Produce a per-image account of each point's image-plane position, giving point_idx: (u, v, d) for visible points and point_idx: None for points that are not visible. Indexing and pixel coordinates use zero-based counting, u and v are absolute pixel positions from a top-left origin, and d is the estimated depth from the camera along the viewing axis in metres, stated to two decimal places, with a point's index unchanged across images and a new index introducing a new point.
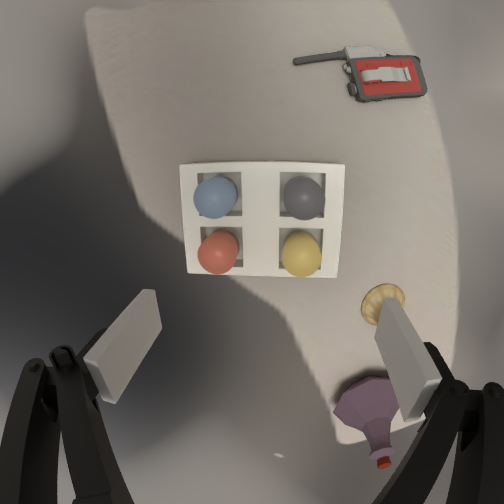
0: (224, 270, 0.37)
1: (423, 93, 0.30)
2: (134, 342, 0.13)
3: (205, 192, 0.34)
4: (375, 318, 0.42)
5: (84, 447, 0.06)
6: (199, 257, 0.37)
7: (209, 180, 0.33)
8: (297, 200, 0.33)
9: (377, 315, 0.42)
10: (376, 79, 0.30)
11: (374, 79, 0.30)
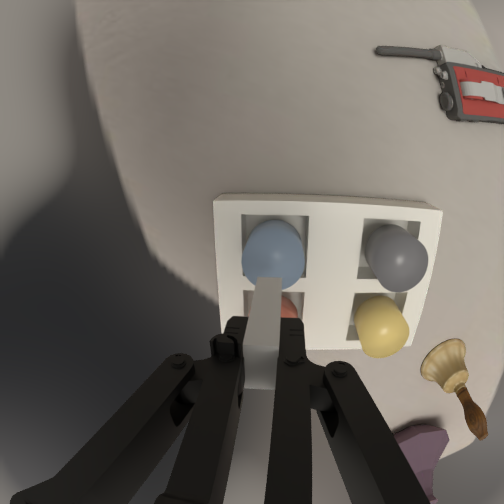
0: None
1: None
2: None
3: (261, 253, 0.22)
4: (438, 379, 0.31)
5: (206, 448, 0.07)
6: None
7: (269, 234, 0.22)
8: (394, 266, 0.21)
9: (441, 376, 0.30)
10: (479, 96, 0.18)
11: (477, 95, 0.18)
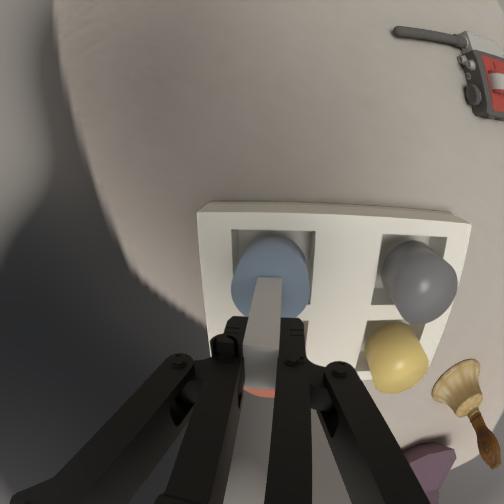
0: None
1: None
2: None
3: (256, 280, 0.18)
4: (450, 403, 0.26)
5: (206, 448, 0.07)
6: None
7: (265, 258, 0.17)
8: (419, 295, 0.17)
9: (454, 400, 0.25)
10: None
11: None
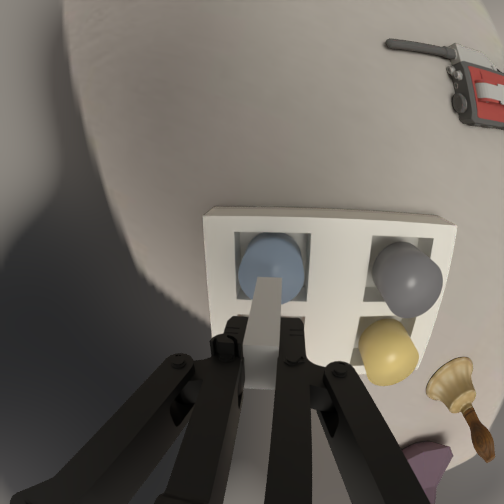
0: None
1: None
2: None
3: (259, 266, 0.21)
4: (444, 399, 0.28)
5: (206, 448, 0.07)
6: None
7: (267, 247, 0.21)
8: (406, 291, 0.19)
9: (447, 397, 0.27)
10: (495, 99, 0.15)
11: (493, 98, 0.15)
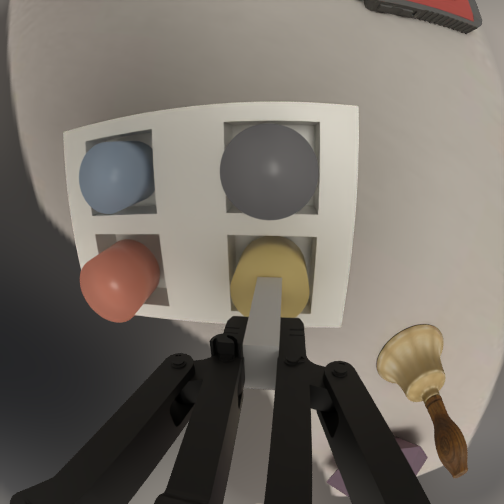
0: (124, 316, 0.18)
1: (476, 25, 0.12)
2: None
3: (94, 168, 0.17)
4: (399, 381, 0.23)
5: (206, 448, 0.07)
6: (84, 291, 0.18)
7: (99, 145, 0.16)
8: (252, 174, 0.14)
9: (403, 378, 0.23)
10: None
11: None
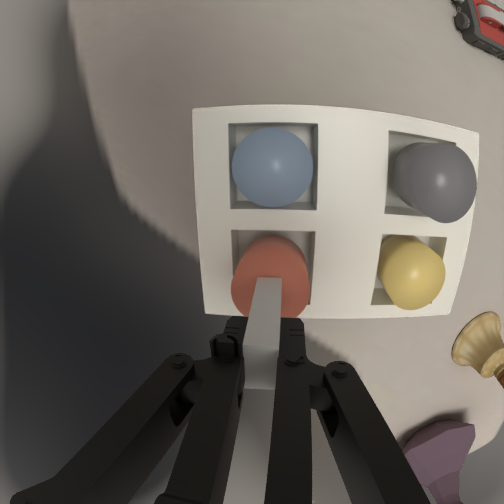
0: None
1: None
2: None
3: (257, 154, 0.17)
4: (474, 361, 0.23)
5: (206, 448, 0.07)
6: (234, 293, 0.18)
7: (266, 130, 0.16)
8: (438, 184, 0.14)
9: (478, 357, 0.23)
10: (498, 20, 0.10)
11: (496, 19, 0.10)
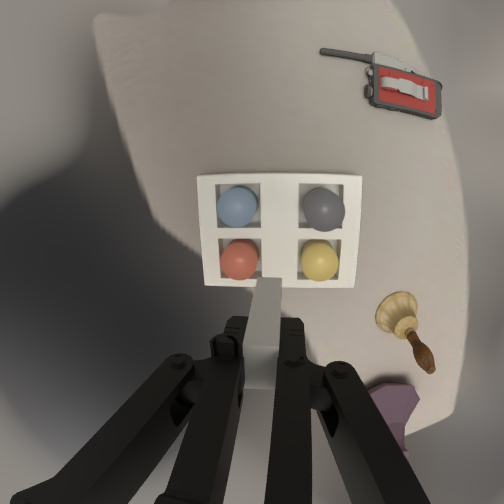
0: (246, 276, 0.39)
1: (436, 116, 0.32)
2: None
3: (228, 202, 0.36)
4: (390, 326, 0.42)
5: (206, 448, 0.07)
6: (222, 264, 0.39)
7: (232, 190, 0.35)
8: (318, 212, 0.33)
9: (392, 322, 0.41)
10: (394, 87, 0.30)
11: (392, 87, 0.30)
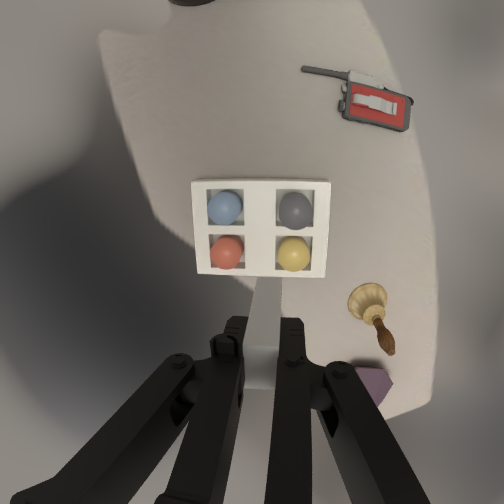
0: (231, 266, 0.47)
1: (403, 129, 0.39)
2: None
3: (217, 204, 0.43)
4: (359, 313, 0.50)
5: (206, 448, 0.07)
6: (211, 256, 0.46)
7: (220, 194, 0.43)
8: (290, 214, 0.41)
9: (361, 310, 0.49)
10: (364, 104, 0.37)
11: (362, 103, 0.37)
